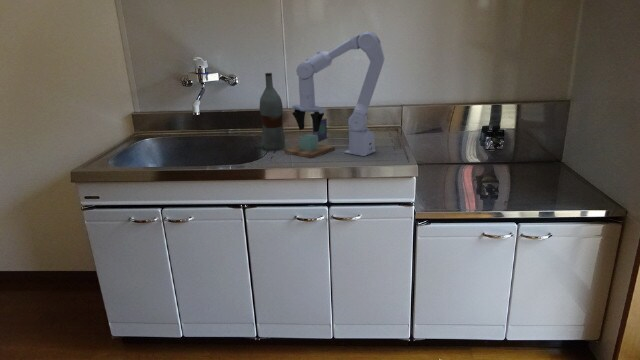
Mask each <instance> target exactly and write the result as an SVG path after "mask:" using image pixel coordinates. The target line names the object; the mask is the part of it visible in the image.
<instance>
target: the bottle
mask: <svg viewBox="0 0 640 360" xmlns="http://www.w3.org/2000/svg"><path fill="white" fill-rule="evenodd" d="M264 75H265V89H264V90H263V93H262V94H261V96H260V99H259V112H260V118H261V124H262V126H261V127H262V131H261V133H262V135H261V139H262V140H261V141H262V145H263V148H264V149H265V150H268V151H276V150H277V151H278V150H281V149H284V147H285V140H286V137H285V132H284V127H283V109H284V108H283V101H282V99H281V98H282V97H281V96H280V95H279V93H278V91H277V90H276V88H274V85H273V73H272V72H265V73H264Z"/></svg>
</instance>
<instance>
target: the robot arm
mask: <svg viewBox="0 0 640 360" xmlns="http://www.w3.org/2000/svg"><path fill="white" fill-rule="evenodd" d="M351 50H361V51H362V52H363V53H365V54H366V56H367V58H368V60H369V65H368V68H367V72H366V74H365V78H364V81H363V84H362V87H361V89H360V92H359V96H358V99H357V101H356V102H357V103H356V105H355V107H354V109H353V112H352V114H351V115H350V116H349V117H348V121H347V124H348V149H347V150H344V153H345V154H350V155H354V156H355V155H357V156H362V157H366V156H368V155H371V154H374V153H376V151H377V150H376V149H375V147H376V146H375V144H376V140H375V139H376V137H375V133H374V132H373V131H371V130H369V129H368V128H369V127H368V126H367V124H366V123H367V121H368V112H369V108H370V104H371V101H372V99H373V95H374V92H375V89H376V86H377V83H378V80H379V77H380V75H381V71H382V68H383V65H384V62H385V54H384V51H383V47H382V41H381V40H380V38H379V36H378V35H377V33H375V32H373V31H370V30H369V31H364V32H361V34H357V35H355V36H353V37H350V38H349V39H346V40H345V41H344V42H342V43H340V44H339V45H337V46H335V47H334V48H332V49H331V50H329V51H326V50H322V51H321V50H319V51H316V54H315V55H313V56H312V57H310V58H308V57H307V58H306V59H305V62H300V63H299V64H298V65H297V67H296V70H295V72H296V75H297V76H298V93H299V104H294V105H292V107H291V108H292V115H293V117H294V119H295V121H296V123H297V126H298V129H299V131H302V130H304V129H305V118H306V117H305V115H306V112H307V113H310V116H311V120H312V121H313V124H312V129H313V128H314V132H317V131H319V127H320V123H321V120H322V117H325V116H324V115H325V107H321V106H318V105H316V100H315V99H316V98H315V96H316V95H315V80H314V76H315V74H317V73H319V72H321V71H323V70H324V69H326V68H328V67H329V66H331V65H332V63H333V61H334V59H336V58H338V57H339V56H342V55H343V54H345V53H348V52H349V51H351Z"/></svg>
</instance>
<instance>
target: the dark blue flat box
mask: <svg viewBox="0 0 640 360" xmlns="http://www.w3.org/2000/svg"><path fill="white" fill-rule="evenodd" d="M327 121H328V119H327V117H325V116H323V117H322V120H321V123H320V127H319V131H317V132H314V128H313V127H312V135H317V136H318V143H319V142H321V141H324V140H325V138H326V139H328V129H327V127H328V126H327V125H328V124H327V123H328V122H327ZM312 125H313V121H312Z"/></svg>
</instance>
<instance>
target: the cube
mask: <svg viewBox="0 0 640 360" xmlns="http://www.w3.org/2000/svg"><path fill="white" fill-rule="evenodd" d="M318 144H319V142H318V136H317V135H313V134H309V133H308V134H303V135H301V136H299V145H300V149H302V150H307V151H311V150H314V149H317V148H318Z"/></svg>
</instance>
